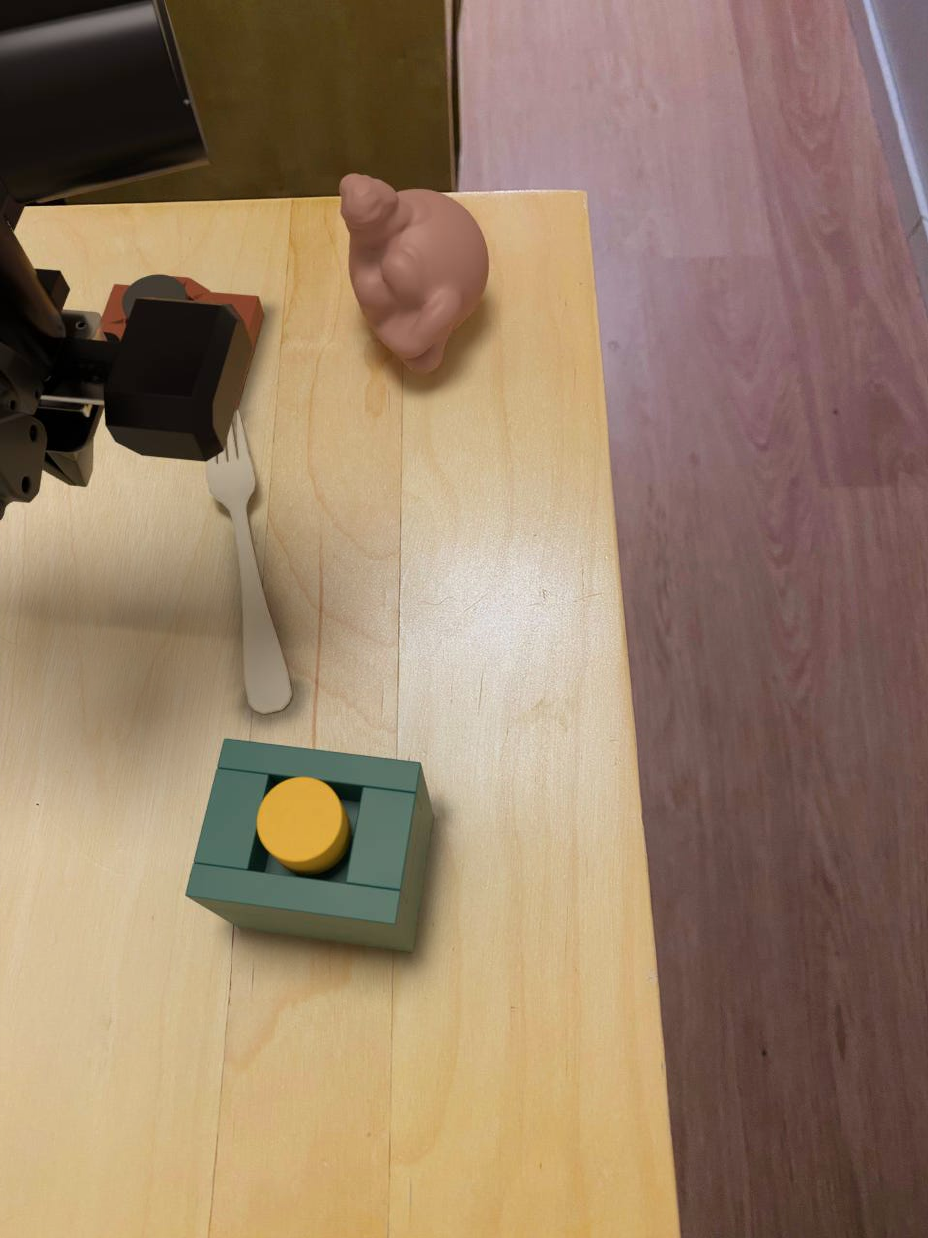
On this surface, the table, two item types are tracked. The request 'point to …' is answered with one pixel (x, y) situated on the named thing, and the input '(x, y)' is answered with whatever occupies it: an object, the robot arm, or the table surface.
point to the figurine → (412, 265)
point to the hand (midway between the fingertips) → (82, 478)
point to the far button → (153, 290)
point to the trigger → (304, 825)
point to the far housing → (243, 304)
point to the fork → (250, 580)
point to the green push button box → (341, 896)
